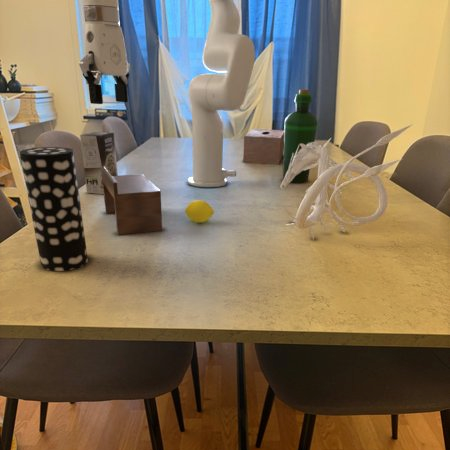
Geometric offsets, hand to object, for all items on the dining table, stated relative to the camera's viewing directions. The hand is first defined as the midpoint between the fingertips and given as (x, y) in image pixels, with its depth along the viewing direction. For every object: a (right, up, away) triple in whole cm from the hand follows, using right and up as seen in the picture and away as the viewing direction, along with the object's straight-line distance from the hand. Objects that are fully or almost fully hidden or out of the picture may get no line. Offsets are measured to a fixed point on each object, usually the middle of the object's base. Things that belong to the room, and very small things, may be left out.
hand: (109, 102), depth 104 cm
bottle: (+52, -7, +43) cm, 68 cm away
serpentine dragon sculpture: (+52, -32, -4) cm, 61 cm away
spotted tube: (-2, -40, -22) cm, 46 cm away
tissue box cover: (+45, +14, +82) cm, 94 cm away
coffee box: (-9, -15, +26) cm, 31 cm away
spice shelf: (+5, -28, 0) cm, 29 cm away
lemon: (+22, -29, +1) cm, 36 cm away
